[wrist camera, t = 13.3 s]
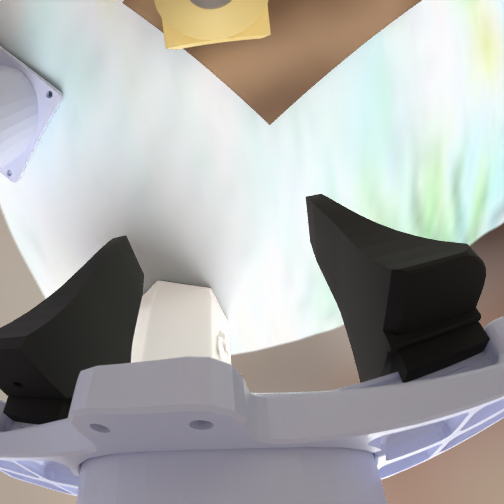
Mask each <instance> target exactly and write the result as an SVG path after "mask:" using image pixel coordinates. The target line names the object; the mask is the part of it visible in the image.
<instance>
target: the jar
mask: <svg viewBox="0 0 504 504" xmlns="http://www.w3.org/2000/svg"><path fill="white" fill-rule="evenodd" d="M185 356H198V357H211V358H214V359H217V360H220V361H223V362H226V363H229V364H231V354H230V338H229V323H228V320H227V318H226V316H225V314H224V313H223V311H222V309H221V307H220V305H219V303H218V301H217V299H216V297H215V295H214V293H213V291H212V289H211V288H208V287H201V286H193V285H186V284H179V283H172V282H165V281H156V282H155V283H154V284H153V286H152V287H151V288H150V289H149V290H148V291H147V292H146V293H145V294H144V295H143V297H142V300H141V304H140V309H139V314H138V318H137V323H136V328H135V333H134V337H133V343H132V352H131V363H134V362H143V361H152V360H161V359H169V358H177V357H185Z"/></svg>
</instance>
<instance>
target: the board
mask: <svg viewBox="0 0 504 504" xmlns="http://www.w3.org/2000/svg"><path fill="white" fill-rule="evenodd" d="M420 1H422V0H269V1H268V3H267V5H268V14H269V23H270V32H271V35H269V36H266V37H264V38H261V39H249V40H239V41H230V42H221V43H214V44H207V45H200V46H194V47H188V48H183V49H185V50H186V51H187V52H188V53H189V54H191V55H192V56H193V57H194V58H196V59H197V60H198V61H199V62H200V63H202V64H203V65H204V66H205V67H206V68H207V69H209V70H210V71H211V72H212V73H213V74H214V75H216V76H217V77H218V78H219V79H220V80H221V81H223V82H224V83H225V84H226V85H227V86H228V87H229V88H230V89H232V90H233V91H234V92H235V93H236V94H237V95H238V96H239V97H240V98H242V99H243V100H244V101H245V102H246V103H247V104H248V105H249V106H250V107H251V108H252V109H253V110H254V111H256V112H257V113H258V114H259V115H260V116H261V117H262V118H263V119H264V120H265V121H266V122H267V123H268V124H269V125H270V124H271V123H272V122H274V121H275V120H276V119H277V118H278V117H279V116H280V115H281V114H282V113H283V112H284V111H286V110H287V109H288V108H289V107H290V106H291V105H292V104H293V103H294V102H296V101H297V100H298V99H299V98H300V97H301V96H302V95H303V94H305V93H306V92H307V91H308V90H309V89H310V88H311V87H313V86H314V85H315V84H316V83H317V82H318V81H319V80H321V79H322V78H323V77H324V76H325V75H326V74H328V73H329V72H330V71H331V70H332V69H334V68H335V67H336V66H337V65H338V64H340V63H341V62H342V61H343V60H344V59H346V58H347V57H348V56H349V55H350V54H352V53H353V52H354V51H355V50H357V49H358V48H359V47H360V46H362V45H363V44H364V43H365V42H367V41H368V40H369V39H371V38H372V37H373V36H374V35H376V34H377V33H378V32H380V31H381V30H382V29H383V28H385V27H386V26H387V25H389V24H390V23H391V22H393V21H394V20H395V19H397V18H398V17H399V16H401V15H402V14H403V13H405V12H406V11H408V10H409V9H410V8H412V7H413V6H415V5H416V4H417V3H419V2H420ZM122 3H123V4H125V5H126V6H128V7H129V8H131V9H132V10H133V11H135V12H136V13H138V14H139V15H140V16H142V17H143V18H144V19H146V20H147V21H148V22H150V23H151V24H152V25H154V26H155V27H156V28H158V29H159V30H160V31H162V32H163V33H164V31H163V24H162V17H161V16H160V14H159V13H158V11H157V8H156V6H155V2H154V0H124V1H123V2H122Z"/></svg>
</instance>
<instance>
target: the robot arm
mask: <svg viewBox="0 0 504 504" xmlns="http://www.w3.org/2000/svg"><path fill="white" fill-rule="evenodd" d="M49 91H51V92H52V97H50V96H49ZM62 99H63V95H62V93H61V92H60V91H59V90H58V89H56V88H55V87H54V86H53V85H51V84H50V83H49V82H47V81H46V80H45V79H43V78H42V77H41V76H39V75H38V74H37V73H36V72H34V71H33V70H32V69H30V68H29V67H28V66H26V65H25V64H24V63H22V62H21V61H20V60H19V59H17V58H16V57H15V56H13V55H12V54H11V53H9V52H8V51H7V50H5V49H4V48H3V47H1V46H0V172H1V173H2V174H3V175H4V176H5V177H7V178H8V179H9V180H10V181H12V182H14V183H16V182H17V181H18V180H19V179H20V178H21V175H22V173H23V171H24V169H25V167H26V165H27V163H28V161H29V159H30V157H31V155H32V153H33V151H34V149H35V147H36V145H37V143H38V141H39V139H40V137H41V135H42V134H43V132H44V130H45V128H46V126H47V125H48V123H49V121H50V119H51V118H52V116H53V114H54V113H55V111H56V109H57V108H58V106H59V104H60V103H61V101H62ZM9 170H10V171H11V173H12V174H10V173H9ZM306 204H307V213H308V223H309V233H310V242H311V245H312V248H313V251H314V254H315V257H316V260H317V263H318V265H319V267H320V269H321V271H322V273H323V275H324V277H325V279H326V281H327V284H328V286H329V288H330V290H331V292H332V294H333V296H334V298H335V300H336V302H337V305H338V307H339V310H340V312H341V315H342V318H343V321H344V325H345V328H346V330H347V334H348V337H349V341H350V344H351V348H352V351H353V355H354V358H355V362H356V366H357V370H358V373H359V378H360V382H361V383H358V384H354V385H350V386H347V387H343V388H339V389H335V390H331V391H316V392H292V393H251V392H250V391H249V390H248V388H247V385H246V383H245V380H244V378H243V376H242V375H241V374H240V373H239V372H238V371H237V370H236V369H235V368H234V367H233V366H232V365H231V364H229V363H226V362H223V361H220V360H217V359H214V358H211V357H198V356H185V357H177V358H169V359H161V360H152V361H143V362H134V363H131V352H132V343H133V337H134V333H135V328H136V323H137V318H138V314H139V309H140V304H141V300H142V294H143V281H144V274H143V272H142V270H141V267H140V265H139V263H138V261H137V259H136V257H135V254H134V252H133V250H132V248H131V246H130V243H129V241H128V239H127V236H122V237H118V238H114V239H112V240H111V241H109V242H108V243H107V244H106V245H104V246H103V247H102V248H101V249H100V250H99V251H98V252H97V253H96V254H95V255H94V256H93V257H92V258H91V259H90V260H89V261H88V262H87V263H86V264H85V265H84V266H83V267H82V268H81V269H80V270H78V271H77V272H76V273H75V274H74V275H73V276H72V277H71V278H70V279H69V280H68V281H67V282H66V283H65V284H64V285H62V286H61V287H60V288H59V289H58V290H57V291H55V292H54V293H53V294H52V295H51V296H49V297H48V298H47V299H45V300H44V301H43V302H41V303H40V304H39V305H37V306H36V307H35V308H33V309H32V310H30V311H29V312H27V313H26V314H24V315H22V316H21V317H19V318H17V319H16V320H14V321H13V322H11V323H9V324H7V325H5V326H3V327H1V328H0V389H1V390H2V391H3V392H4V393H5V394H6V395H8V399H7V402H4V401H2V400H0V471H2V472H3V473H5V474H7V475H9V476H10V477H13V478H16V479H19V480H22V481H25V482H28V483H32V484H35V485H39V486H42V487H45V488H48V489H52V490H55V491H59V492H62V493H66V494H70V495H73V496H77V504H387V501H386V497H385V493H384V489H383V486H382V483H381V480H382V479H384V478H387V477H389V476H392V475H394V474H397V473H399V472H401V471H404V470H406V469H409V468H411V467H413V466H416V465H418V464H420V463H422V462H424V461H426V460H429V459H431V458H433V457H435V456H437V455H439V454H441V453H443V452H444V451H446V450H448V449H450V448H452V447H454V446H456V445H458V444H460V443H461V442H463V441H465V440H467V439H469V438H470V437H472V436H474V435H476V434H477V433H479V432H481V431H483V430H484V429H486V428H488V427H489V426H491V425H493V424H494V423H496V422H497V421H499V420H500V419H503V418H504V316H502V317H500V318H498V319H496V320H494V321H492V322H490V323H489V324H488V325H486V327H485V328H484V329H483V327H482V326H481V324H480V323H479V320H480V319H481V314H480V313H479V312H478V310H477V309H476V305H477V303H478V300H479V297H480V295H481V292H482V289H483V286H484V282H485V277H486V267H485V265H484V263H483V261H482V260H481V259H480V257H479V256H478V255H477V254H476V253H475V252H474V251H473V250H472V249H471V248H470V247H469V245H468V244H463V243H454V242H445V241H438V240H433V239H427V238H422V237H418V236H414V235H410V234H407V233H403V232H400V231H397V230H394V229H391V228H388V227H386V226H383V225H380V224H378V223H376V222H373V221H371V220H369V219H367V218H365V217H363V216H361V215H359V214H357V213H355V212H353V211H351V210H349V209H347V208H346V207H344V206H342V205H340V204H339V203H337V202H335V201H333V200H332V199H330V198H328V197H326V196H324V195H322V194H318V195H313V196H308V197H306Z"/></svg>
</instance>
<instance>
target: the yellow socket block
mask: <svg viewBox="0 0 504 504" xmlns="http://www.w3.org/2000/svg"><path fill="white" fill-rule="evenodd" d="M268 1H269V0H154V2H155V6H156V8H157V11H158V13H159V14H160V16H161V17H162V24H163V31H164V38H165V45H166V49H175V50H177V49H183V48H188V47H194V46H200V45H207V44H214V43H221V42H230V41H239V40H249V39H261V38H264V37H266V36H269V35H271V32H270V23H269V14H268V5H267V3H268Z"/></svg>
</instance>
